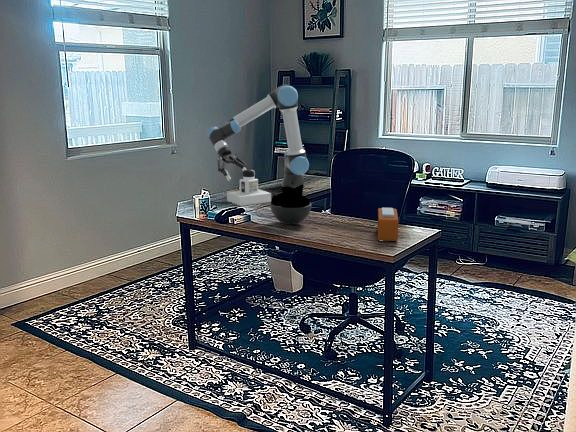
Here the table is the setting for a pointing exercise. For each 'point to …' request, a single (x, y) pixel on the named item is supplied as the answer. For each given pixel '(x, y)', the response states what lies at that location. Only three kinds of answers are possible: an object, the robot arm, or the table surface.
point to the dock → (248, 197)
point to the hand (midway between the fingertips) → (239, 178)
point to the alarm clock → (387, 224)
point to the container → (248, 182)
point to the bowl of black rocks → (290, 205)
